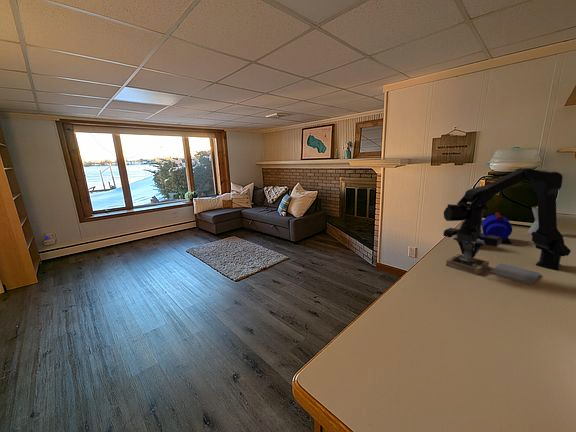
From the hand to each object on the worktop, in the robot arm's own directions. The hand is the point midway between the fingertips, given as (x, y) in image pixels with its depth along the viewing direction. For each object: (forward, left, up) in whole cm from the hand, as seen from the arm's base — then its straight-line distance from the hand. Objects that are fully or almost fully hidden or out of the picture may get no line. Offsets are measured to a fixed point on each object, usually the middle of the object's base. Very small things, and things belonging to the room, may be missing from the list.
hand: (468, 255), depth 101 cm
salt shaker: (0, 0, -5) cm, 5 cm away
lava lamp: (-77, +7, -5) cm, 77 cm away
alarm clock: (-47, -4, -5) cm, 47 cm away
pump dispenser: (-29, -10, -5) cm, 31 cm away
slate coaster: (-6, +14, -5) cm, 16 cm away
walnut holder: (0, 0, -5) cm, 5 cm away
